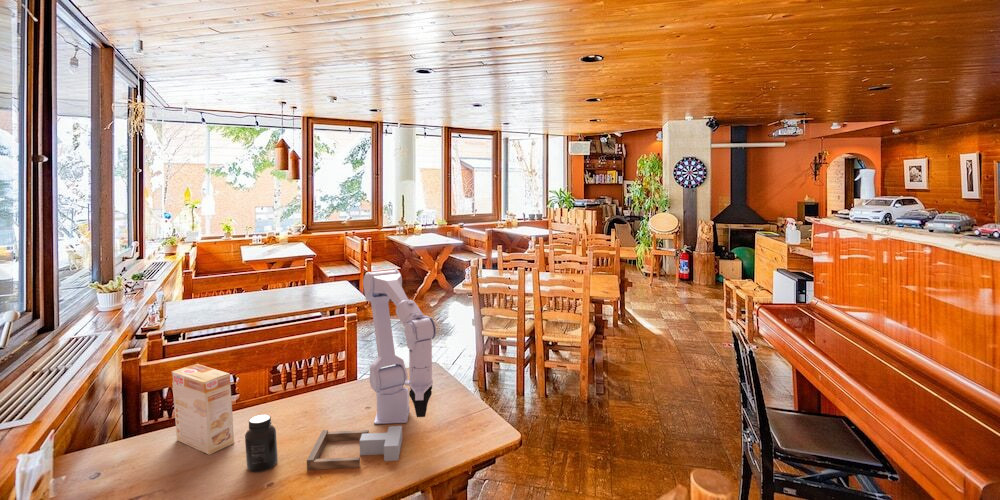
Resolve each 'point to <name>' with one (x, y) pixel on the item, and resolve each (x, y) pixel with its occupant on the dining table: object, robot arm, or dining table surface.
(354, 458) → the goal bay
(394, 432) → the tee block
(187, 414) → the coffeecake box
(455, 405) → the dining table surface
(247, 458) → the supplement bottle
